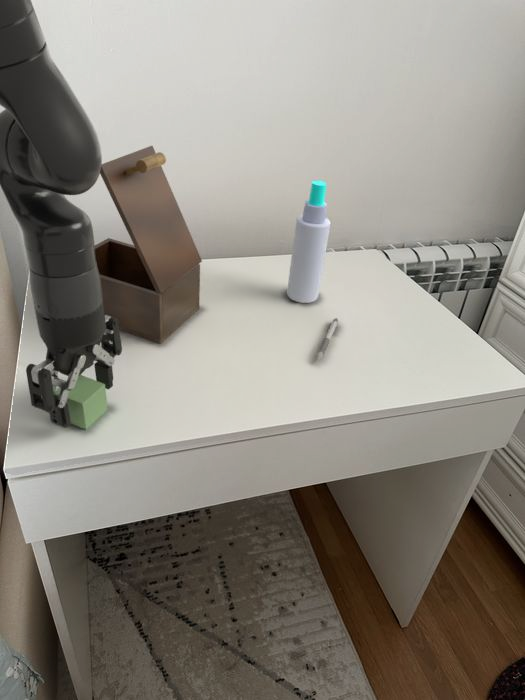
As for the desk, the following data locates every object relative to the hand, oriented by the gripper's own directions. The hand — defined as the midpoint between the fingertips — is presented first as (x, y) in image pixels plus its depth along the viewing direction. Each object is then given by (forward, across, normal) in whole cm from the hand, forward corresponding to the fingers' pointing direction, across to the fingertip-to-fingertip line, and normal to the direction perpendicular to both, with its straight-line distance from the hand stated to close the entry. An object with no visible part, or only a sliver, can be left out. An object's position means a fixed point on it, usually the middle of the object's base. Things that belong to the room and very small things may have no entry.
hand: (84, 404), depth 71 cm
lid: (-16, -25, -5) cm, 30 cm away
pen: (+2, -33, +23) cm, 41 cm away
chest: (+2, -25, -10) cm, 27 cm away
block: (+2, 0, 0) cm, 2 cm away
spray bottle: (+2, -46, +14) cm, 48 cm away
